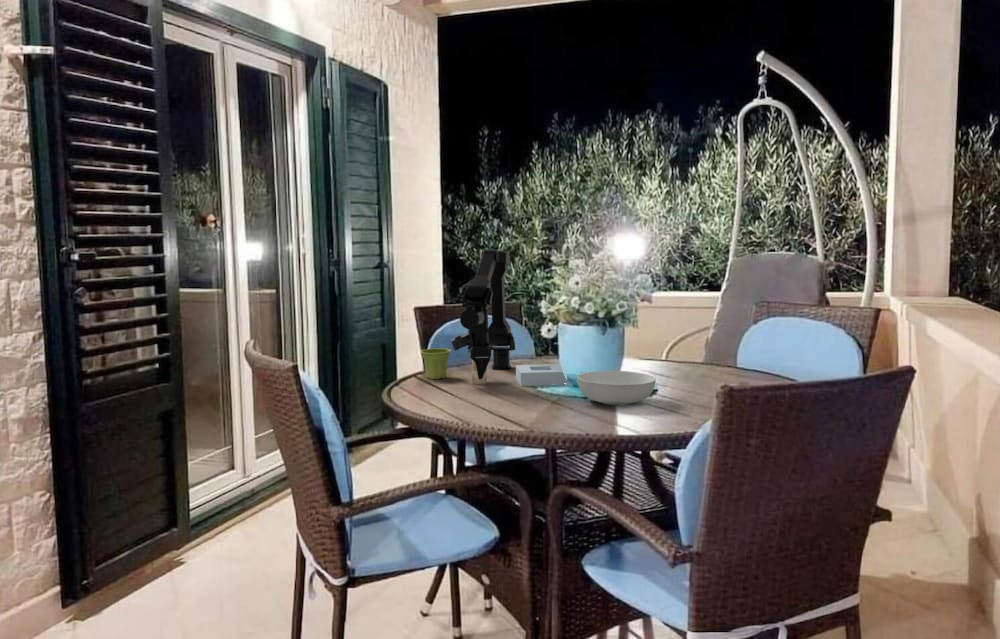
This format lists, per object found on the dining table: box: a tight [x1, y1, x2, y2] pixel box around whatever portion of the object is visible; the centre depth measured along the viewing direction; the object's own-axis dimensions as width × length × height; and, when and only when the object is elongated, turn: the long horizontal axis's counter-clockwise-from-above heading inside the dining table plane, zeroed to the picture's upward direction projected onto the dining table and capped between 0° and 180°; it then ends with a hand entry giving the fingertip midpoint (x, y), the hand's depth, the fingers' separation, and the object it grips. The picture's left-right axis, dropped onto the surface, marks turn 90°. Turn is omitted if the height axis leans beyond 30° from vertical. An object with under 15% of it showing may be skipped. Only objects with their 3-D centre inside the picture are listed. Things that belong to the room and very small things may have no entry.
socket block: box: [515, 363, 568, 387], centre depth 245 cm, size 14×14×4 cm
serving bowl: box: [576, 370, 657, 406], centre depth 214 cm, size 21×21×7 cm
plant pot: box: [420, 347, 452, 380], centre depth 253 cm, size 9×9×9 cm
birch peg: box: [471, 359, 488, 386], centre depth 242 cm, size 4×4×8 cm
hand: (479, 376), depth 242 cm, fingers open, 9 cm apart
